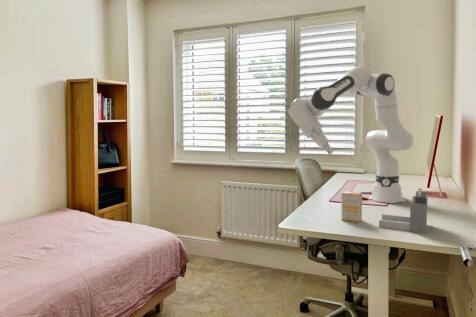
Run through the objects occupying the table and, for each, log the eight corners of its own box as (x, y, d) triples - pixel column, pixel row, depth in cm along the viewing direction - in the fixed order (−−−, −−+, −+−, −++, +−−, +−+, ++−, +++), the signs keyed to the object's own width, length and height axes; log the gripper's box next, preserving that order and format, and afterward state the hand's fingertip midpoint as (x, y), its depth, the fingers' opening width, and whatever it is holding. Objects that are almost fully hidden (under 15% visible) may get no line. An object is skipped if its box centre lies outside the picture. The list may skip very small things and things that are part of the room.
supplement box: (361, 220, 170) (362, 191, 169) (359, 222, 166) (360, 193, 165) (343, 217, 175) (344, 190, 173) (340, 220, 171) (341, 192, 169)
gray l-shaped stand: (382, 219, 171) (383, 184, 169) (426, 224, 163) (428, 188, 161) (378, 227, 159) (379, 190, 157) (425, 233, 150) (427, 194, 148)
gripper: (318, 122, 162) (338, 148, 160) (318, 127, 182) (335, 150, 181) (307, 131, 163) (326, 157, 161) (307, 135, 183) (325, 158, 181)
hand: (331, 153), depth 171 cm, fingers open, 8 cm apart
